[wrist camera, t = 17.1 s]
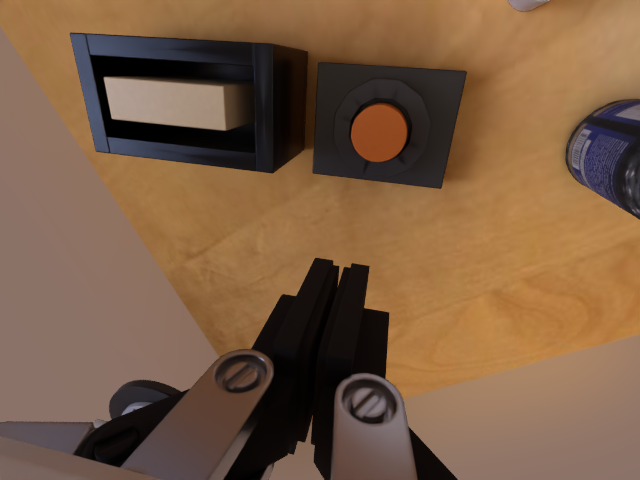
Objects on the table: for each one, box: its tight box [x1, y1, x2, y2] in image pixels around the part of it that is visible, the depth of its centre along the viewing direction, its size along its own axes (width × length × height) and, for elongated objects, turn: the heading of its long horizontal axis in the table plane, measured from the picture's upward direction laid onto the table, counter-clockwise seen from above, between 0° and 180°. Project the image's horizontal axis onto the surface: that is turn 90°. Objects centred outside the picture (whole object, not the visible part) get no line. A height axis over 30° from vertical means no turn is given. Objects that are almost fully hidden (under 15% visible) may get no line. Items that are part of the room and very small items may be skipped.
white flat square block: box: [104, 76, 255, 131], centre depth 25 cm, size 2×8×8 cm, turn 87°
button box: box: [313, 62, 467, 189], centre depth 26 cm, size 10×8×4 cm
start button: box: [351, 103, 407, 162], centre depth 23 cm, size 4×4×2 cm
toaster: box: [70, 33, 308, 173], centre depth 26 cm, size 13×7×8 cm, turn 87°
